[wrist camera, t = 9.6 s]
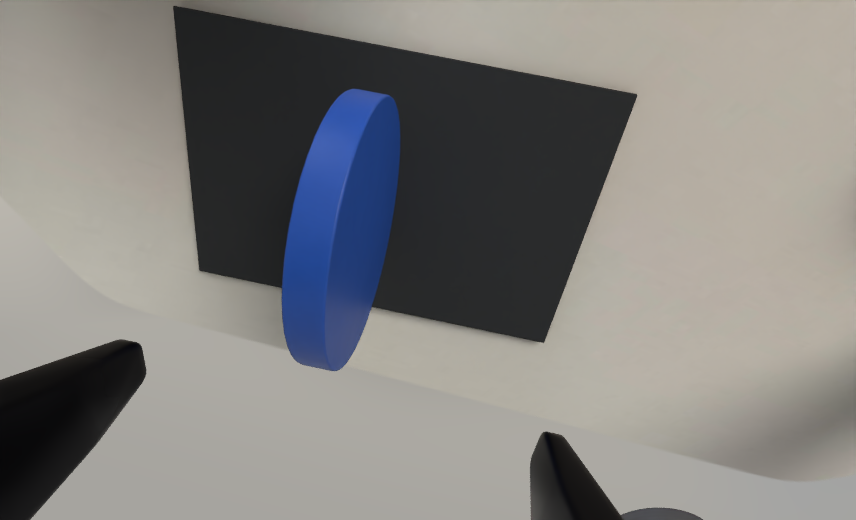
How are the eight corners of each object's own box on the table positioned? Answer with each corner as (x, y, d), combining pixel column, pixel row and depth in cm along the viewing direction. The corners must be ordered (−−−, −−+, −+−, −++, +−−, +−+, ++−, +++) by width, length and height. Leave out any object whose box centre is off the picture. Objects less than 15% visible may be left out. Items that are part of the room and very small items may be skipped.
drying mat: (542, 338, 22) (544, 343, 22) (203, 267, 23) (199, 270, 22) (634, 94, 17) (638, 94, 16) (179, 7, 17) (172, 5, 17)
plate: (410, 89, 17) (337, 107, 8) (383, 284, 21) (316, 437, 13) (384, 83, 17) (280, 97, 8) (362, 280, 22) (280, 429, 13)
